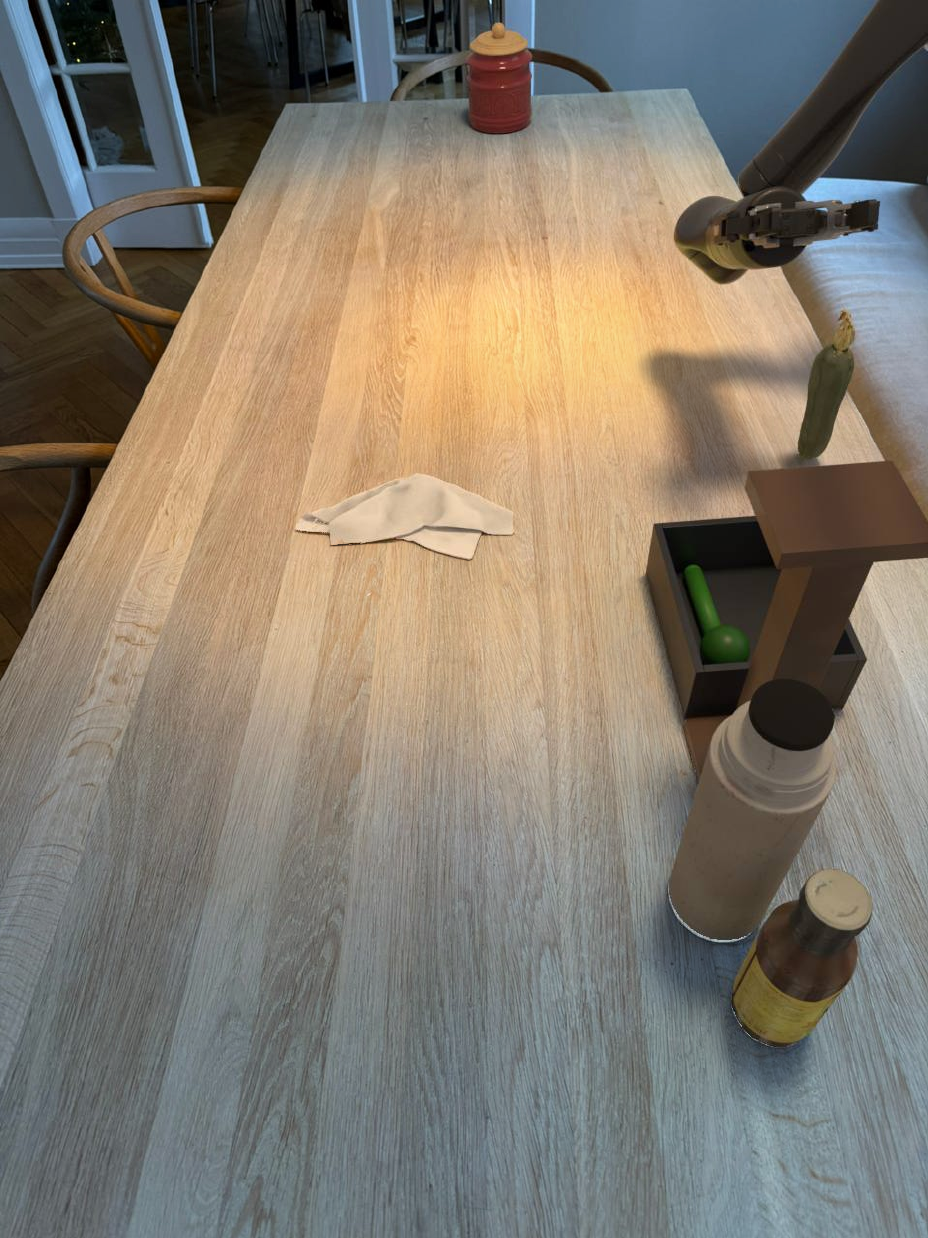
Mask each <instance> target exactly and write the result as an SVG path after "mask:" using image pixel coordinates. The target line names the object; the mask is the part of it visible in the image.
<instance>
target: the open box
mask: <svg viewBox="0 0 928 1238" xmlns="http://www.w3.org/2000/svg"><path fill="white" fill-rule="evenodd" d="M647 556H648V557H647V563H646V570H645V578H646V581H647V585H648V589H649V592H650V596H651V600H652V604H653V608H654V612H655V616H656V619H657V623H658V626H659V630H660V634H661V638H662V642H663V645H664V650H665V655H666V657H667V661H668V665H669V669H670V672H671V676H672V680H673V683H674V687H675V691H676V695H677V699H678V703H679V707H680V710H681V715H682V718H684V719H683V720H684V721H685V720H686V718H698V717H711V716H724V715H733V713H734V712H735V710H736V707H737V704H738V701H739V698H740V695H741V692H742V689H743V686H744V683H745V680H746V677H747V674H748V671H749V668H750V665H751V662H752V659H753V656H754V652H755V649H756V646H757V643H758V640H759V637H760V634H761V631H762V628H763V625H764V622H765V619H766V616H767V613H768V610H769V607H770V604H771V601H772V598H773V595H774V591H775V588H776V585H777V582H778V579H779V576H780V573H781V570H782V569H777V568H776V566H775V563H774V561H773V558H772V556H771V553H770V551H769V548H768V546H767V543H766V541H765V538H764V536H763V533H762V531H761V528H760V525H759V523H758V520H757V518H756V515H747V516H734V517H722V518H708V519H707V518H706V519H696V520H695V519H694V520H683V521H682V520H681V521H670V522H669V521H668V522H657V523H653V525H652V530H651V537H650V544H649V551H648V555H647ZM690 565H697V566H699V567H700V568H701V570H702V572H703V575H704V578H705V581H706V583H707V586H708V589H709V592H710V595H711V598H712V600H713V603H714V606H715V609H716V612H717V614H718V617H719V620H720V623H721V625H729V626H733V627H736V628H738V629H739V630H741V631H742V632H743V633H744V634H745V635H746V637H747V638H748V641H749V643H750V656H749V659H748V661H747V662H737V663H724V664H711V665H705V663H704V662H703V660H702V658H701V655H700V643H701V640H702V638H703V637H704V635H703V632H702V629H701V626H700V623H699V620H698V617H697V614H696V611H695V608H694V605H693V602H692V599H691V596H690V593H689V590H688V587H687V584H686V581H685V579H684V570H685V569H686V567H688V566H690ZM867 661H868V658H867V655H866V653H865V651H864V648H863V647H862V645H861V642H860V639H859V638H858V635H857V633H856V631H855V629H854V626H853V625H852V622H851V620H850V618H849V619H848V622H847V624H846V626H845V628H844V631H843V633H842V635H841V638H840V640H839V642H838V644H837V647H836V649H835V651H834V654H833V656H832V658H831V660H830V663H829V665H828V667H827V669H826V672H825V674H824V676H823V679H822V681H821V683H820V685H819V688H818V690H819V691H820V692H821V693H822V694H823V695H824V696H825V697H826V698H827V699H828V701H829V702H830V704H831V706H832V708H833V710H837V709H844V708H845V706H846V704H847V702H848V700H849V698H850V696H851V694H852V691H854V687H855V685H856V683H857V682H858V679H859V677H860V675H861V674H862V671H863V670H864V667H865V665H866V663H867Z"/></svg>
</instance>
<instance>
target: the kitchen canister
mask: <svg viewBox="0 0 928 1238" xmlns="http://www.w3.org/2000/svg"><path fill="white" fill-rule="evenodd" d="M528 45H529V42H528V40H527V39H526V38H525V37H523V36H522V35H521V34H520V33H519V32H517V31H514V30H511V29H510V30H509V29H506V27H505V25H504V24H503V23H502V22H495V23H494V24H493V25H492V28H491V30H487V31H483V32H482V33H479V34H478V35H477V37H476V38H474V39H473V40H472V41H471V42H470V43H469V48H470V50H471V52H470V53H468V55H467V56H466V57H465V58H466V59H465V62H466V64H467V65H468V69H469V70H468V75H466V76H467V77H466V81H467V89H468V90H467V91H468V110H467V111H468V119H469V124H470V126H471V127H472V128H473V129H474V130H476V131H479V132H482V133H486V134H508V133H513V132H517V131H519V130H522V129H524V128H525V127H527V126H528V125H529V124H530V123H531V118H532V113H533V111H532V110H533V107H532V79H533V74H532V71H531V69H530V63H531V61H532V59H533V54H532V53H531V52H530V50H529V49H527V47H528Z"/></svg>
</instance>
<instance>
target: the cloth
mask: <svg viewBox="0 0 928 1238" xmlns="http://www.w3.org/2000/svg"><path fill="white" fill-rule="evenodd" d="M514 513H515V512H514V511H512V510H510V509H508V508H506V507H504V506H501V505H499V504H496V503H495V502H492V501H491V500H488V499H486V498H485V497H482V496H481V495H479V494H477V493H475V492H471V491H469V490H466V489H465V488H463V487H461V486H458V485H457V484H454V483H452V482H451V483H449V482H447V481H445V480H442V479H440V478H438V477H436V476H432V475H430V474H424V473H419V472H415V473H414V474H411V476H409V477H396V478H394V479H391V480H389V481H387V482H384V483H382V484H380V485H377V486H375V487H372V488H369V489H367V490H365V491H362V492H359V493H355V494H354V495H351V496H349V497H347V498H345V499H344V500H342V501H339V502H338V503H337V504H334V505H333V506H328V507H322V508H319V509H317V510H314V511H312V512H305V513H303V514H302V515H300V516H299V518H298V520H297V522H296V525H295V527H294V530H295V531H297V530H298V531H297V532H302V531H307V532H308V531H312V532H313V531H321V532H322V533H321V534H329V542H330V541H331V542H333V543H334V541H336V540H337V539H338V540H339V541H341V539H342V540H343V541H344V542H345V543H346V542H347V541H348V542H349V543H350V542H354V541H355V542H358V543H359V542H361V543H360V544H365V543H366V542H367V543H372V542H378V541H383V540H388V539H394V538H396V539H395V540H403V539H404V541H407V542H414V543H416V544H417V545H419V544H420V546H421V545H422V546H421V547H423V546H424V547H423V548H425V547H426V548H425V549H428V550H431V551H433V552H436V553H440V554H443V555H447V556H451V557H454V558H458V559H463V560H469V561H470V560H472V559H473V558H474V555H475V553H476V549H477V546H478V544H479V541H480V538H481V536H482V534H483V533H484V534H487V535H489V534H491V535H490V536H513V535H514V534H515V531H514V529H515V527H514ZM316 518H317V519H318V520H317V521H316V522H315V523H314V524H313V522H314V521H315V519H316ZM320 522H321V523H320ZM324 522H325V523H324ZM318 523H320V525H319V526H318V527H317V528H316V526H317V524H318ZM323 523H324V524H323ZM312 524H313V525H312ZM313 527H314V528H313ZM312 528H313V529H312ZM315 528H316V529H315ZM314 529H315V530H314ZM299 530H300V531H299ZM307 532H306V533H307ZM323 532H324V533H323ZM513 533H514V534H513Z"/></svg>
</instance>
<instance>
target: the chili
mask: <svg viewBox="0 0 928 1238" xmlns="http://www.w3.org/2000/svg"><path fill="white" fill-rule="evenodd" d="M684 579H685V581H686V584H687V587H688V590H689V593H690V596H691V599H692V602H693V605H694V608H695V611H696V614H697V617H698V620H699V623H700V626H701V629H702V632H703V635H704V637H703V638H702V640H701V643H700V655H701V658H702V660H703V662H704V663H705V665H711V664H724V663H737V662H747V661H748V659H749V656H750V643H749V641H748V638H747V637H746V635H745V634H744V633H743V632H742V631H741V630H739V629H738V628H736V627H733V626H729V625H721V623H720V620H719V617H718V614H717V612H716V609H715V606H714V603H713V600H712V598H711V595H710V592H709V589H708V586H707V583H706V581H705V578H704V575H703V572H702V570H701V568H700V567H699V566H697V565H690V566H688V567H686V569H685V570H684Z"/></svg>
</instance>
